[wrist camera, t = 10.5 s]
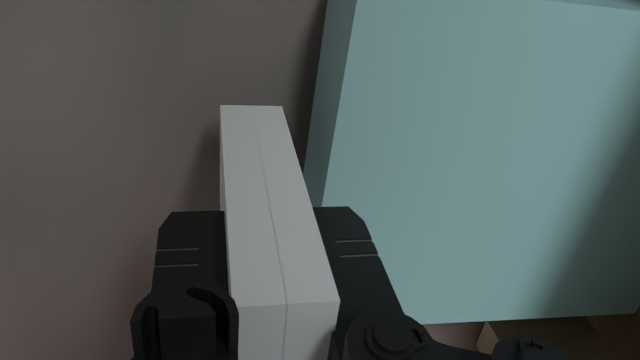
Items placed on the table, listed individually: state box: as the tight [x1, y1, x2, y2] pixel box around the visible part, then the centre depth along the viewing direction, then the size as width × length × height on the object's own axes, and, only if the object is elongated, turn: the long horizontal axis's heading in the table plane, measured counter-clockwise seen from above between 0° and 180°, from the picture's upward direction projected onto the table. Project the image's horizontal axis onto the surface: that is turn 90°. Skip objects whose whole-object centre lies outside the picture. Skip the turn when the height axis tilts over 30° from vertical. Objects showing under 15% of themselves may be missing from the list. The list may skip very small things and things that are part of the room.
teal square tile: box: [303, 0, 640, 324], centre depth 15 cm, size 10×12×3 cm
